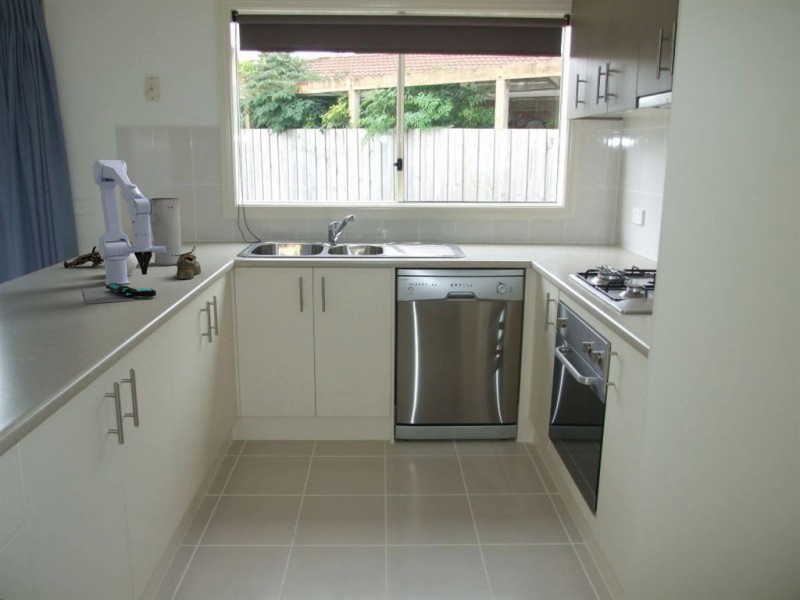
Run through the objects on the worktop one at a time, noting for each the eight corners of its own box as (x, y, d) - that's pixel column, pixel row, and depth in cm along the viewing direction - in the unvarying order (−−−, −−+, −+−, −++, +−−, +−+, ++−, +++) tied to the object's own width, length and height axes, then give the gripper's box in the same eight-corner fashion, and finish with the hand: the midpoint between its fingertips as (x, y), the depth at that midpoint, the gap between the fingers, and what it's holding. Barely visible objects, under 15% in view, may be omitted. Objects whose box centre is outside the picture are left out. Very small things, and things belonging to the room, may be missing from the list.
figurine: (63, 256, 278) (107, 241, 283) (71, 274, 280) (114, 259, 285) (59, 258, 269) (104, 243, 273) (67, 277, 271) (112, 262, 275)
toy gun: (133, 280, 236) (104, 282, 229) (157, 288, 221) (127, 291, 215) (133, 288, 236) (104, 291, 229) (158, 297, 222) (127, 300, 215)
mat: (82, 290, 231) (82, 289, 231) (126, 287, 238) (125, 286, 238) (86, 304, 211) (86, 303, 211) (134, 300, 217) (133, 299, 217)
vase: (152, 262, 293) (146, 198, 287) (185, 260, 297) (179, 197, 291) (150, 267, 281) (144, 200, 275) (185, 265, 285) (179, 199, 279)
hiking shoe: (203, 271, 274) (201, 242, 271) (193, 280, 254) (192, 249, 252) (181, 271, 273) (180, 242, 270) (170, 280, 253) (168, 248, 251)
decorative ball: (139, 277, 257) (137, 246, 255) (105, 279, 252) (103, 247, 250) (137, 272, 268) (135, 242, 265) (104, 273, 263) (102, 243, 260)
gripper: (119, 236, 219) (122, 277, 222) (166, 234, 225) (168, 274, 228) (117, 234, 225) (120, 274, 228) (163, 232, 231) (165, 271, 234)
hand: (144, 274), depth 228 cm, fingers closed
